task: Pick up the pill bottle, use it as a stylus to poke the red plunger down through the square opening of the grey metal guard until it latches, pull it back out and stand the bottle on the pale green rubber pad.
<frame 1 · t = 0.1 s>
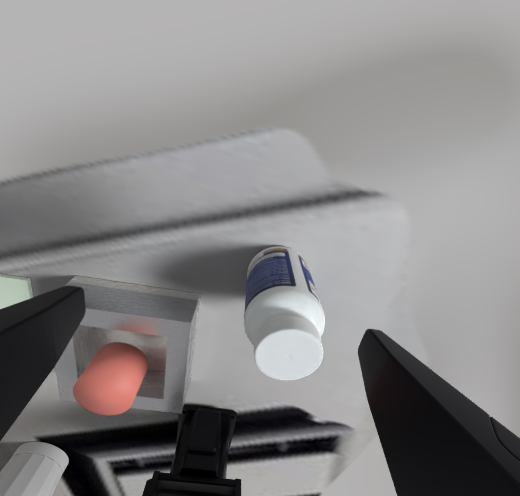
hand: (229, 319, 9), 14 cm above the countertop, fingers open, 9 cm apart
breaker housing: (138, 331, 27), on the countertop
cup: (44, 455, 36), on the countertop
pill bottle: (277, 271, 25), on the countertop
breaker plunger: (113, 377, 23), point 5 cm above the countertop, slide at 0.0 cm
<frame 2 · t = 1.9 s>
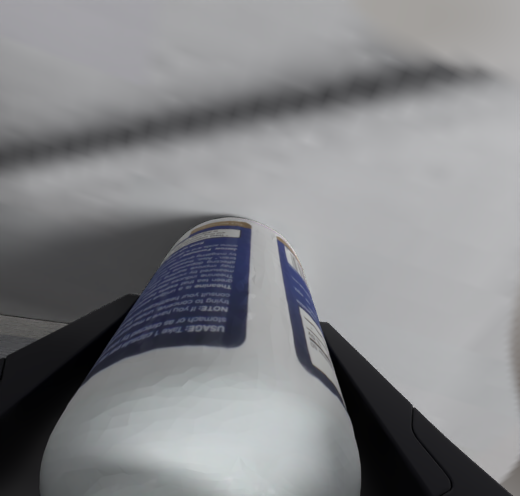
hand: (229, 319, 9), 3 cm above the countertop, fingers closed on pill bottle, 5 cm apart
pill bottle: (235, 275, 11), on the countertop, touching gripper
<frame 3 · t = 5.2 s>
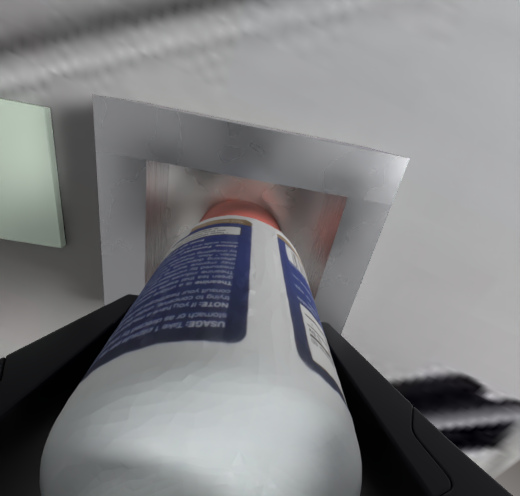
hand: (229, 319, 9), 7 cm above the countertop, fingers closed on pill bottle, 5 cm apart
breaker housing: (240, 232, 15), on the countertop
pill bottle: (235, 273, 11), point 5 cm above the countertop, touching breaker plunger, gripper
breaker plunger: (236, 257, 13), point 3 cm above the countertop, slide at 2.3 cm, touching pill bottle
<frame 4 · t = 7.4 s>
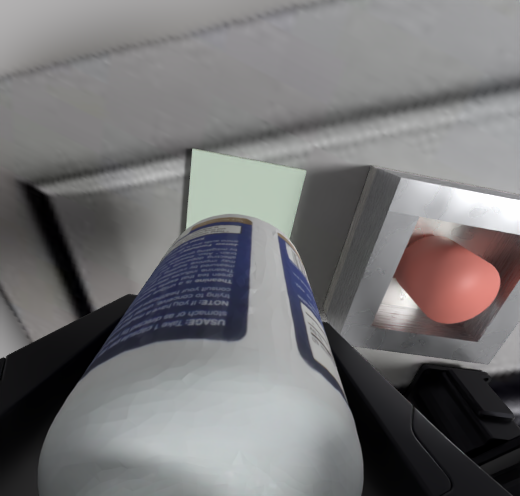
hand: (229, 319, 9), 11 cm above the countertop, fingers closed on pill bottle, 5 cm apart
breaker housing: (416, 256, 20), on the countertop
pill bottle: (236, 273, 11), point 8 cm above the countertop, touching gripper
pad: (241, 212, 19), on the countertop
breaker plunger: (442, 278, 17), point 3 cm above the countertop, slide at 2.3 cm
when the fingers open (4 cm above the countertop, at t = 8.7 s): pill bottle stays where it is, resting on pad.
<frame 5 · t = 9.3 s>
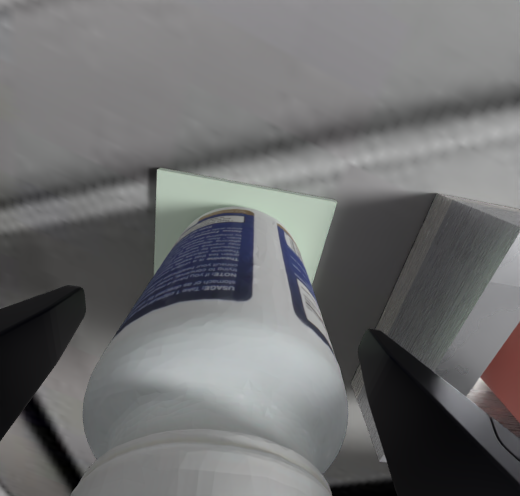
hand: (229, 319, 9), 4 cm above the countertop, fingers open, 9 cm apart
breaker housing: (490, 319, 14), on the countertop
pill bottle: (238, 261, 12), resting on pad
pad: (236, 261, 12), on the countertop
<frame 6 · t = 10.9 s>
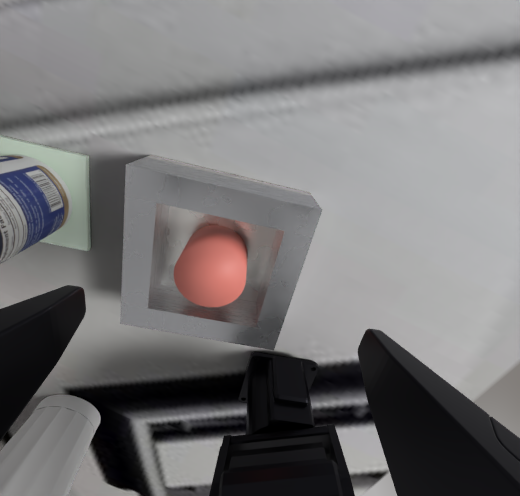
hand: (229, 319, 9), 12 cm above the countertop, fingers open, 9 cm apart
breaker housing: (219, 245, 21), on the countertop
cup: (70, 412, 30), on the countertop
pill bottle: (36, 194, 19), resting on pad
pad: (37, 194, 20), on the countertop
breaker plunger: (213, 264, 19), point 3 cm above the countertop, slide at 2.3 cm
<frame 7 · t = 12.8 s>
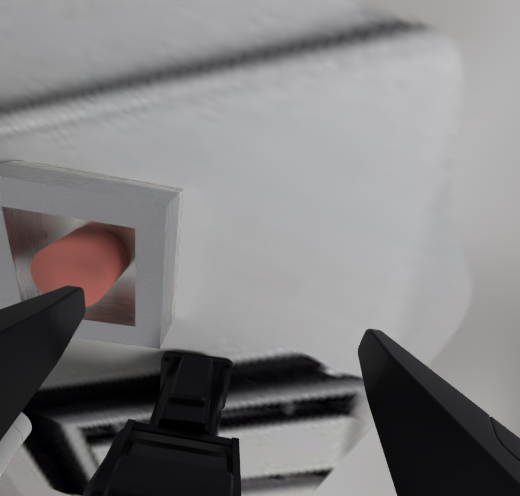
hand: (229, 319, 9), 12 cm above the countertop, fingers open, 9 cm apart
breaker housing: (106, 246, 21), on the countertop
cup: (1, 419, 30), on the countertop
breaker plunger: (83, 265, 19), point 3 cm above the countertop, slide at 2.3 cm
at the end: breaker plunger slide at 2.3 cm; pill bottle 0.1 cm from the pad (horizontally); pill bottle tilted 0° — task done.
